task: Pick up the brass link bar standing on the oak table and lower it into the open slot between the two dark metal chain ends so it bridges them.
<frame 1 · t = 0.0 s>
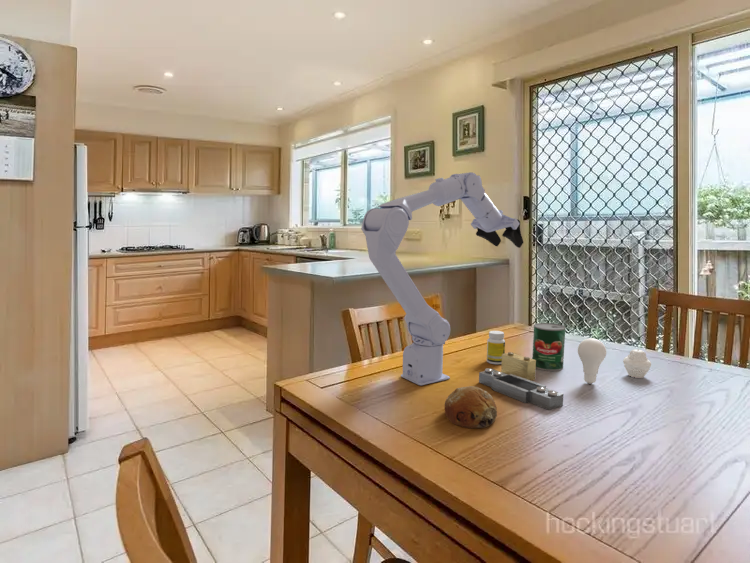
hand: (509, 244, 124), 32 cm above the table, tool tilted 50°, fingers open, 7 cm apart
bread roll: (471, 420, 90), on the table
canned tomato: (547, 367, 123), on the table
supplement bottle: (495, 362, 126), on the table
lightbulb: (589, 384, 109), on the table
muffin: (635, 377, 115), on the table
link: (517, 376, 115), on the table
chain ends: (518, 393, 103), on the table
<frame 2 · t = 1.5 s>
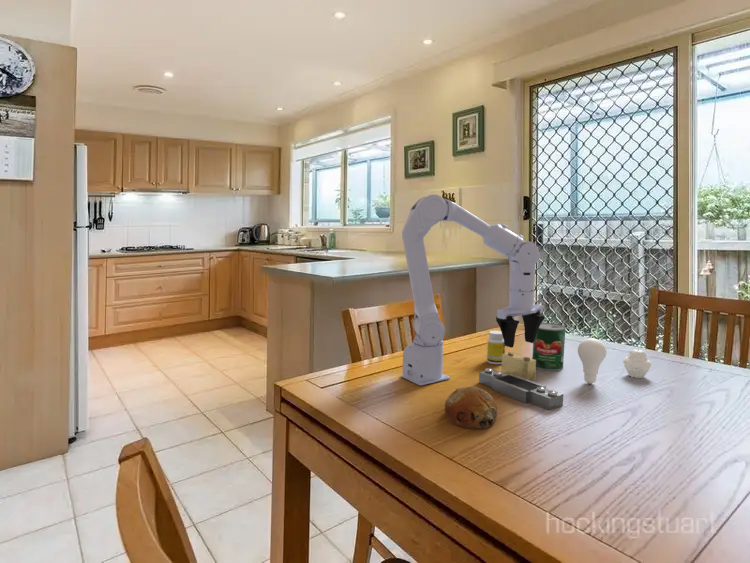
hand: (519, 344, 114), 8 cm above the table, tool pointing down, fingers open, 7 cm apart
nothing on the table moved.
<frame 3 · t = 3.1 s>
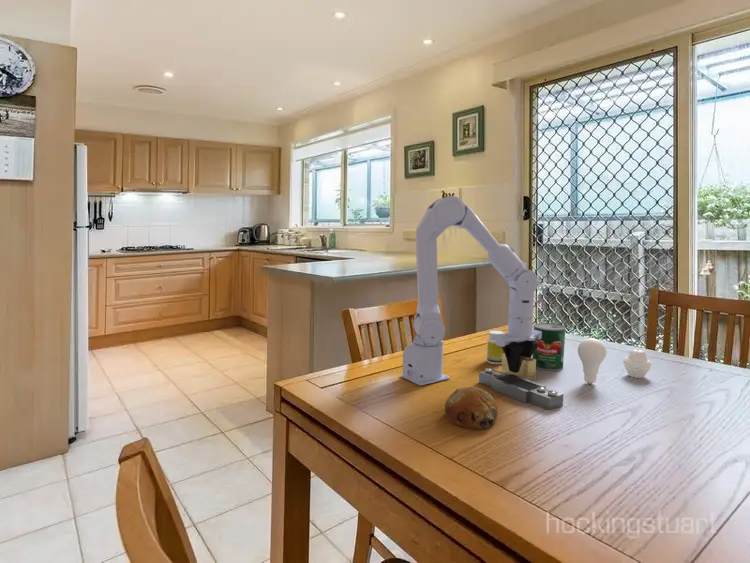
hand: (518, 370, 114), 1 cm above the table, tool pointing down, fingers closed on link, 3 cm apart
link: (517, 375, 115), on the table, touching gripper
everything else where it was.
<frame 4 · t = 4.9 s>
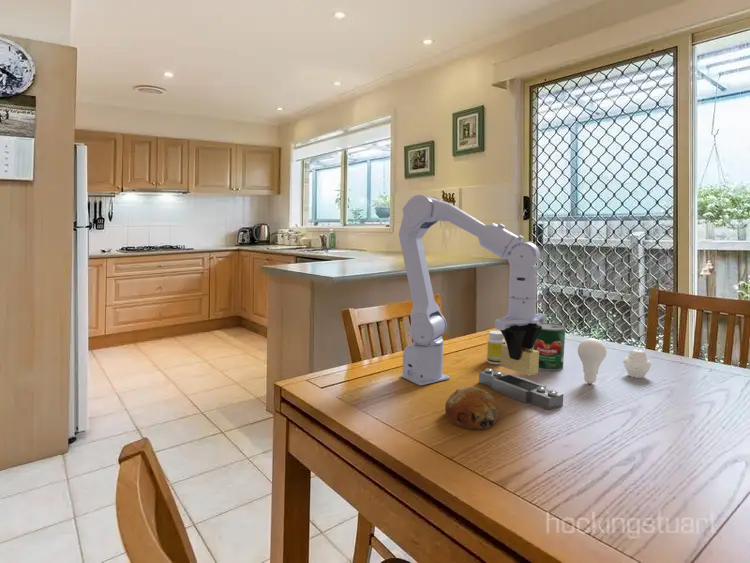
hand: (519, 357, 102), 8 cm above the table, tool pointing down, fingers closed on link, 3 cm apart
link: (518, 369, 102), point 5 cm above the table, touching gripper
everything else where it was.
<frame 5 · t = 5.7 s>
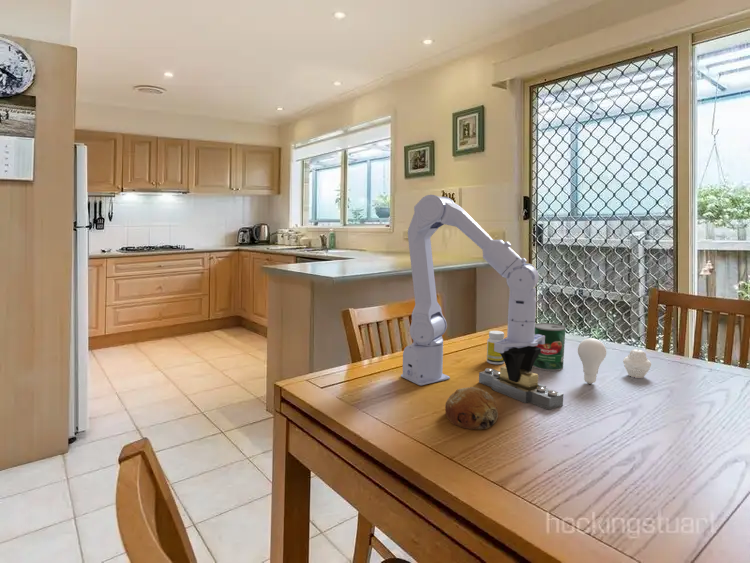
hand: (518, 379, 102), 3 cm above the table, tool pointing down, fingers closed on link, 3 cm apart
link: (517, 392, 103), resting in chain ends, touching gripper
everything else where it was.
when the fingers open (3 cm above the table, at t = 6.6 s): link stays where it is, resting in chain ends.
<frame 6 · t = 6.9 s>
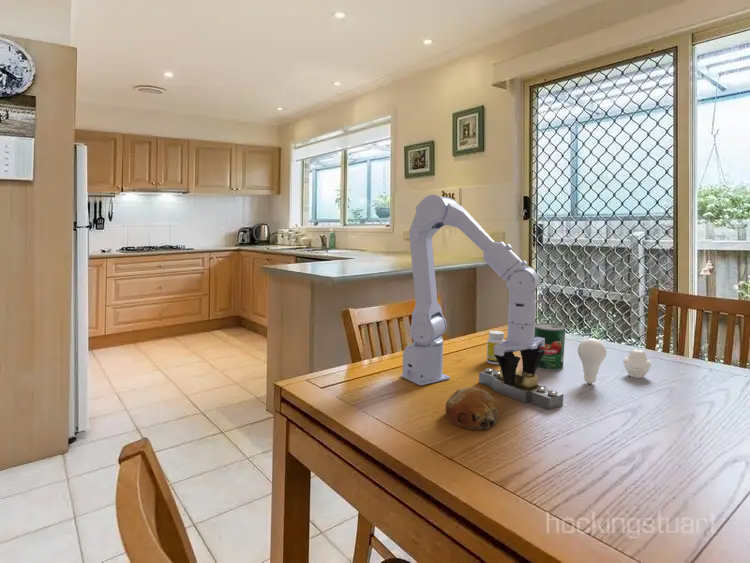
hand: (518, 381, 103), 3 cm above the table, tool pointing down, fingers open, 6 cm apart
link: (517, 393, 103), resting in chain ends
everything else where it was.
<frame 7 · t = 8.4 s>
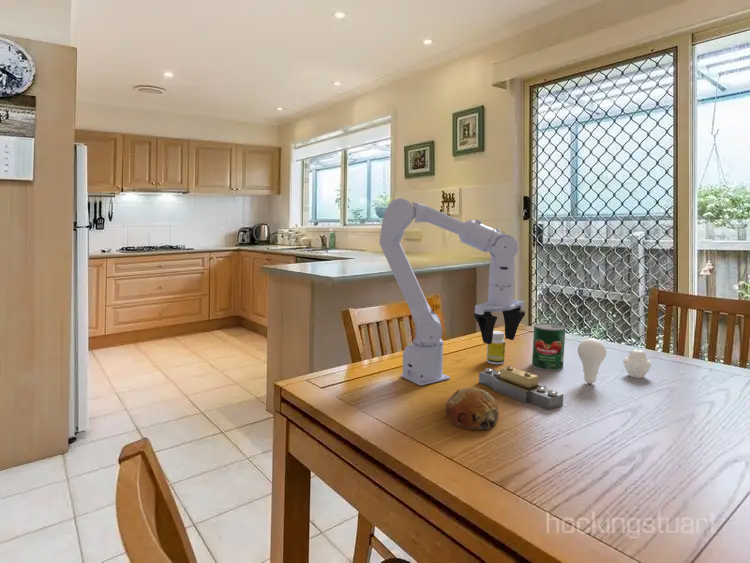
hand: (498, 341, 110), 10 cm above the table, tool pointing down, fingers open, 7 cm apart
nothing on the table moved.
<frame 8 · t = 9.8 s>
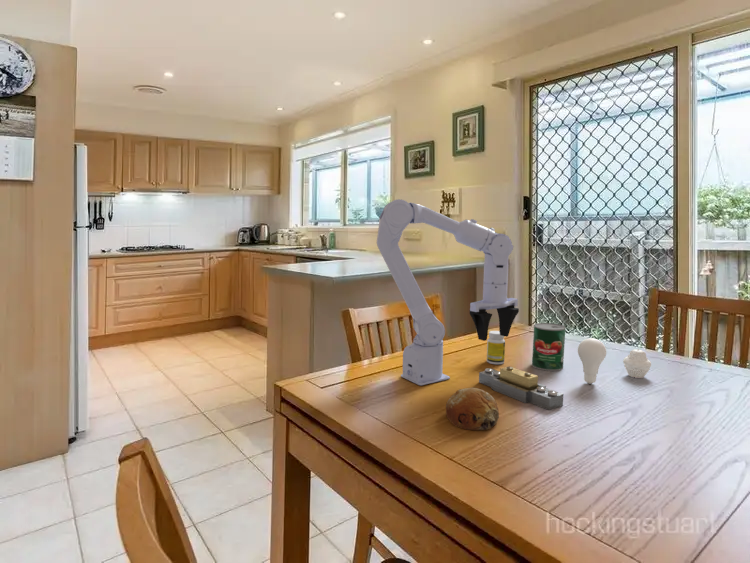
hand: (493, 337, 113), 10 cm above the table, tool pointing down, fingers open, 7 cm apart
nothing on the table moved.
at the end: link 0.1 cm off-centre on the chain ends, point 0.0 cm above the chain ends's base; link resting in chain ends; the gripper is holding nothing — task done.
